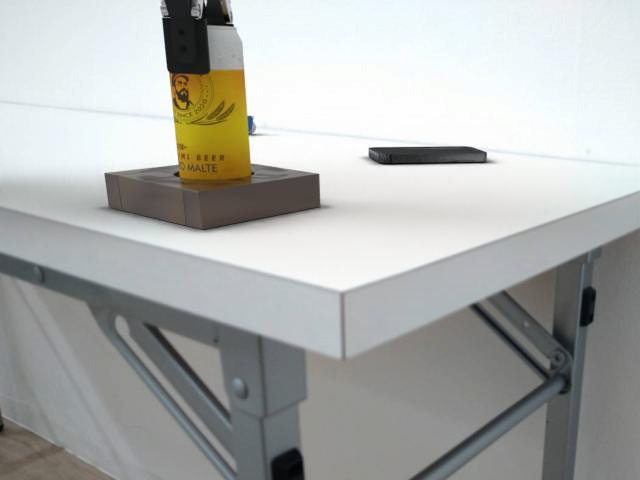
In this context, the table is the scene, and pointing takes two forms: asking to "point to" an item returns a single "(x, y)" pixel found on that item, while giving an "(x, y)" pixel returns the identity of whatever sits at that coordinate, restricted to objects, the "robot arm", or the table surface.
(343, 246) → the table surface
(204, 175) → the beer can
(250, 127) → the ultrasonic sensor
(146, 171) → the can holder
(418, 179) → the table surface
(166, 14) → the robot arm
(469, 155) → the phone
